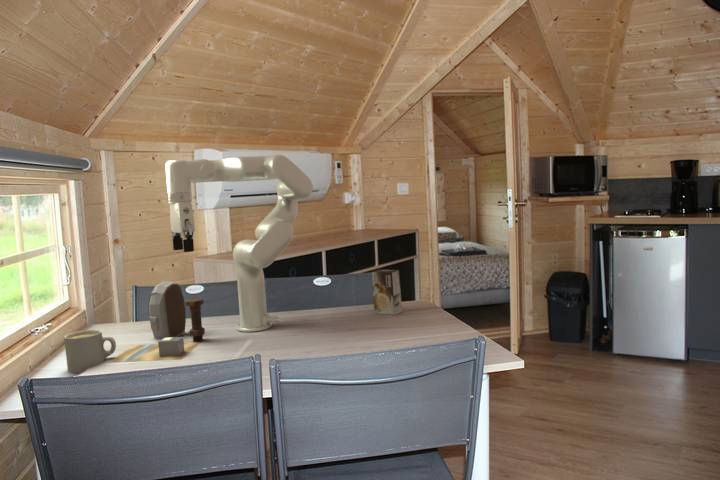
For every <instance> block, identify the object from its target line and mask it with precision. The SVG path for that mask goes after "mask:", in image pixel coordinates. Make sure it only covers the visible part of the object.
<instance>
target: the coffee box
mask: <svg viewBox="0 0 720 480" xmlns="http://www.w3.org/2000/svg"><path fill="white" fill-rule="evenodd" d="M400 273H401V272H400V269H381V268H379V269H376V270H373V271H372V272H371V277H372V279H371V280H372V292H373V293H372V295H373V308H374V309H373V310H374V314H376V315H391V316H396V315H398V314H401V313H403V307H402V305H403V304H402V303H403V302H402V289H401V274H400Z"/></svg>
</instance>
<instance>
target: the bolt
mask: <svg viewBox="0 0 720 480" xmlns="http://www.w3.org/2000/svg"><path fill="white" fill-rule="evenodd" d="M203 304H204V298H199V297H198V298H197V297H196V298H190V299H186V300H185V307H189V310H190V321H191V328H190V330H189V335H190V336H191V337H192V343H194V342H203V340H204V335H205V333H206V329H205V328H204V327H203V326H202V325H203V324H202V312H201V309H202V307H201V306H202V305H203Z"/></svg>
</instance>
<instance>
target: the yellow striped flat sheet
mask: <svg viewBox="0 0 720 480" xmlns="http://www.w3.org/2000/svg"><path fill="white" fill-rule="evenodd" d="M201 343H202V341H200V342H184V352H183V353H182V354H181V355H180V356H161V357H159V346H158V343H157V344H156V343H153V344H150V343H149V344H134V345H132V346H130V347H129V348H127V349H125V350H124V351H123V352H121V353H119V354H118V355H116V356H115V357H114V358H112V359H110V360H109V361H107V363H129V362H132V363H133V362H152V361H157V362H158V361H174V360H175V361H177V360H179V361H180V360H183V359H184V358H185V357H186V356H187V355H189V353H191V352H192V351H193V350H194V349H195V348H196V347H197V346H198V345H200V344H201Z"/></svg>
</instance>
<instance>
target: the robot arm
mask: <svg viewBox="0 0 720 480" xmlns="http://www.w3.org/2000/svg"><path fill="white" fill-rule="evenodd" d="M165 177H166V178H165V179H166V181H165V182H166V190H167V191H166V192H167V194H166V196H167V204H170V205H169V207H170V208H169V209H170V210H169V215H170V217H169V219H170V222H169V223H170V228H171V233H172V234H171V238H172V250H173V251H181V250H183V252H184V253H189V252H194V250H195V246H194V245H195V244H194V233H195V232H196V227H195V217H194V210H193V205H192V203H193V195H192V183H193V184H197V183H213V182H214V183H215V182H231V183H234V182H237V183H238V182H251V181H270V180H279V181H278V182H277V185H276V193H277V202H276V205H275V206H274V207H273V208H272V210H271V211H270V213H268V215H266V216H265V218H264V219H262V221H261V222H260V223H259V224H258V225H257V226H256V228H255V231H254V234H255V238H256V239H243V240H240V241H238V242H237V243H236V245H234V248H233V250H232V259H233V264H234V268H235V273H236V281H237V282H236V283H237V295H238V296H237V297H238V308H239V309H238V310H239V324H236V330H237V331H238V332H244V333H245V332H246V333H248V332H249V333H250V332H251V333H252V332H260V331H264V330H267V329H270V328H271V327H272V326H273V323H280V316H277V315H272V316H271V315H270V312H267V311H268V309H267V296H266V282H265V274H264V269H265V268H267V267H269V266H270V265H272V264H273V263H274V261H276V260H277V259H278V257H279V256H280V255H281V254H282V253H283V252H284V250H286V248H288V246H289V245H290V243H291V242H292V240H293V238H294V227H293V225H292V224H293V223H294V221H295V220H296V219H297V216H298V213H299V203H298V200H306V199H308V198H309V197H310V196H312V194H313V191H314V186H313V185H314V184H313V182H312V180H311V178H309V176H308V175H307V174H306V173H305V172H304V171H302V170H301V169H300V168H299V167H298V166H297V164H295V163H294V162H293V161H292V160H291V159H289V157H286V156H285V155H283V154H274V155H260V156H233V157H227V158H222V159H213V160H211V159H210V160H209V159H205V158H201V159H194V160H185V159H172V160H167V161H166V163H165Z"/></svg>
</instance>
